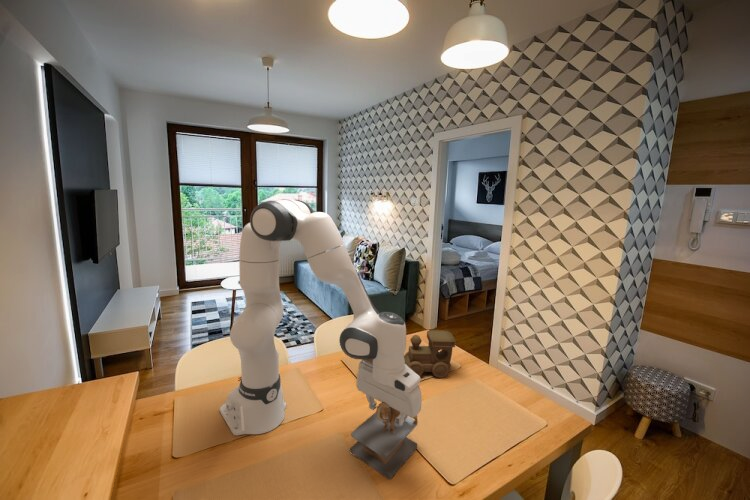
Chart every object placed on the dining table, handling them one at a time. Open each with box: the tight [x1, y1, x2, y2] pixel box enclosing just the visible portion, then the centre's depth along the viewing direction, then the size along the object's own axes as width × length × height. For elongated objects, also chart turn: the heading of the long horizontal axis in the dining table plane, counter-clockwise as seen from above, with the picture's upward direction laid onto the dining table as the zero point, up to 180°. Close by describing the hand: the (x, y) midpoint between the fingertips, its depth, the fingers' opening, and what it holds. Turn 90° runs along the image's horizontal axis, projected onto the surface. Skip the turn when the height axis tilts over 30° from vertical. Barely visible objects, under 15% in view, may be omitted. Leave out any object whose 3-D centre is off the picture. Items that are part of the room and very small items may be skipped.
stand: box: [349, 411, 418, 481], centre depth 93 cm, size 14×16×8 cm
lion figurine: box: [375, 402, 418, 434], centre depth 92 cm, size 15×5×9 cm, turn 127°
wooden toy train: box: [404, 329, 456, 379], centre depth 135 cm, size 20×11×17 cm, turn 93°
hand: (385, 415), depth 91 cm, fingers open, 8 cm apart
